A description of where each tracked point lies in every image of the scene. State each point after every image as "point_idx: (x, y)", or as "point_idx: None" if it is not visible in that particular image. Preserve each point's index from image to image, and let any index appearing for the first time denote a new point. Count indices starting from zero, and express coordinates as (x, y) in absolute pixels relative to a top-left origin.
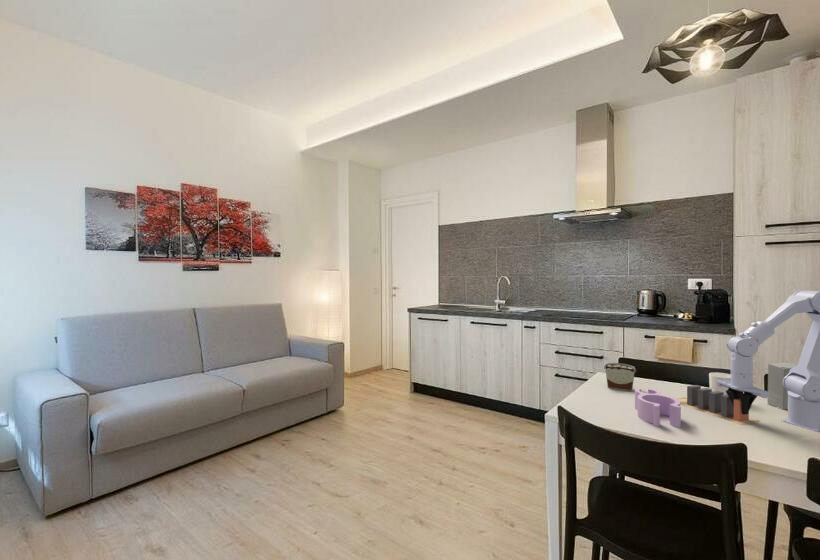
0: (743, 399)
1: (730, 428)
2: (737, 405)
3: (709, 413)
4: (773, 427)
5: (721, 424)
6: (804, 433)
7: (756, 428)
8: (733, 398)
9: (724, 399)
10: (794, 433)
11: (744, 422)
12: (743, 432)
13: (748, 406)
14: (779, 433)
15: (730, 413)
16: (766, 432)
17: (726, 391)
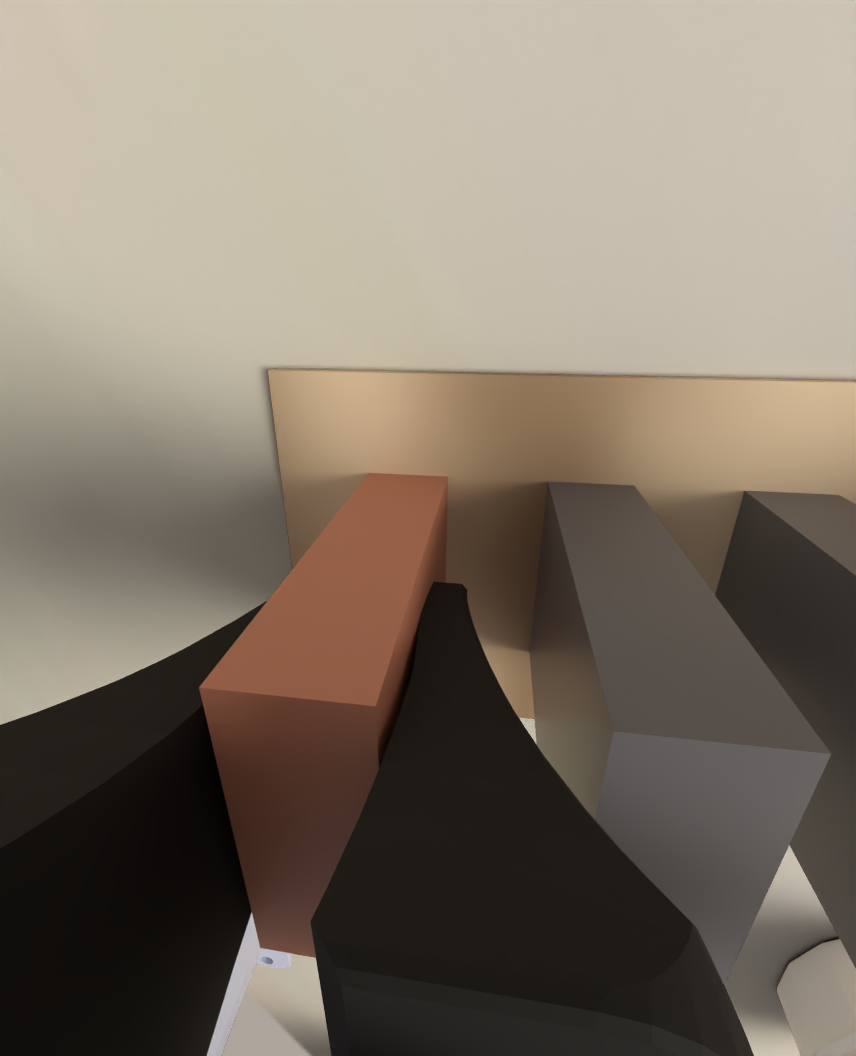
0: (33, 748)
1: (234, 36)
2: (319, 599)
3: (799, 416)
4: (168, 643)
5: (415, 81)
6: (19, 709)
7: (170, 452)
8: (402, 746)
9: (663, 665)
10: (19, 644)
11: (327, 501)
12: (61, 78)
13: None
14: (20, 523)
15: (543, 584)
16: (49, 423)
17: (682, 1005)
